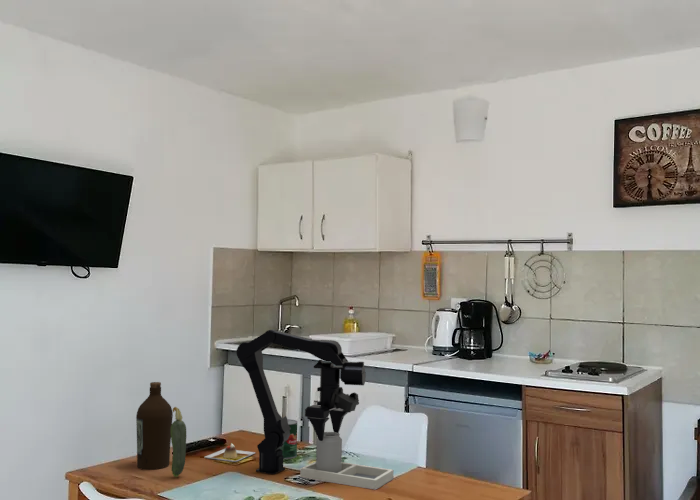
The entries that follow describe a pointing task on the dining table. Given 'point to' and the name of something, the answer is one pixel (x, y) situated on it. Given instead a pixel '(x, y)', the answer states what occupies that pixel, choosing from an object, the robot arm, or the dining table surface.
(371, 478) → the mat
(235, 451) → the dessert
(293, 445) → the canned tomato
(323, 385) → the robot arm
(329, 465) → the can
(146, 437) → the olive oil
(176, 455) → the vegetable
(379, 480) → the organizer
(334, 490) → the dining table surface
